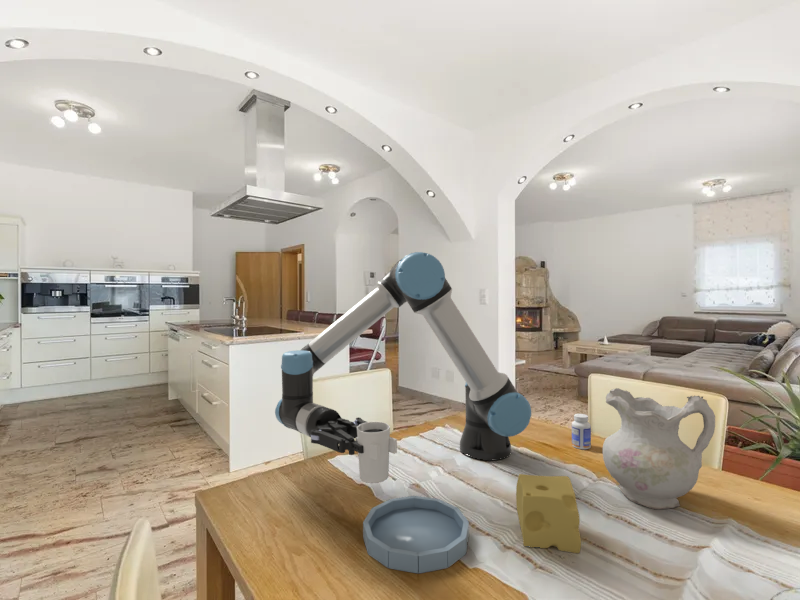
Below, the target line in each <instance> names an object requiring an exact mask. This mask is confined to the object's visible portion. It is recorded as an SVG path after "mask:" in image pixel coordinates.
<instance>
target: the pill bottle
mask: <svg viewBox="0 0 800 600" xmlns="http://www.w3.org/2000/svg"><path fill="white" fill-rule="evenodd" d="M591 425H592V424H591V423H590V422H589V416H588V414H585V413H575V414H574V415H573V421H572V422H571V446H572V447H573V448H575V449H578V450H589V449H591V446H592V440H591V439H592V434H591V433H592V429H591V428H592V426H591Z"/></svg>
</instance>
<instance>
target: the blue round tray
mask: <svg viewBox="0 0 800 600" xmlns="http://www.w3.org/2000/svg"><path fill="white" fill-rule="evenodd" d="M468 537H469V538H470V522H469V520H468V519H467V517H466V516H465V515H464V514H463V512H462V511H461V510H460V509H459V507H457V506H456V505H453V504H451V503H449V502H446V501H444V500H442V499H440V498H434V497H429V496H427V497H426V496H422V495H421V496H419V495H410V496H409V495H408V496H402V497H394V498H390V499H388V500H386V501H383V502H382V503H380V504H377V505H376V506H374V507H371V509H370V510H369V512H368V513H367V515H366V517H365V519H364V520H363V521H362V538H363V542H364V546H365V549H366V552H367V555H369V556H370V557H372V558H373V559H374V560H376V561H377V562H378V563H380V564H381V565H382V566H384V567H385V568H387V569H391V570H396V571H400V572H401V571H402V572H408V573H413V574H424V573H429V572H435V571H440V570H443V569H444V570H445V569H448V568H450V567H451V566H452V565H453V564H455V563H456V562H458V561H459V560H460V559H462V558H463V557H464V556H465V555H467V552H468V551H467V550H468V545H467V542H468V543H469V539H468Z"/></svg>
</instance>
